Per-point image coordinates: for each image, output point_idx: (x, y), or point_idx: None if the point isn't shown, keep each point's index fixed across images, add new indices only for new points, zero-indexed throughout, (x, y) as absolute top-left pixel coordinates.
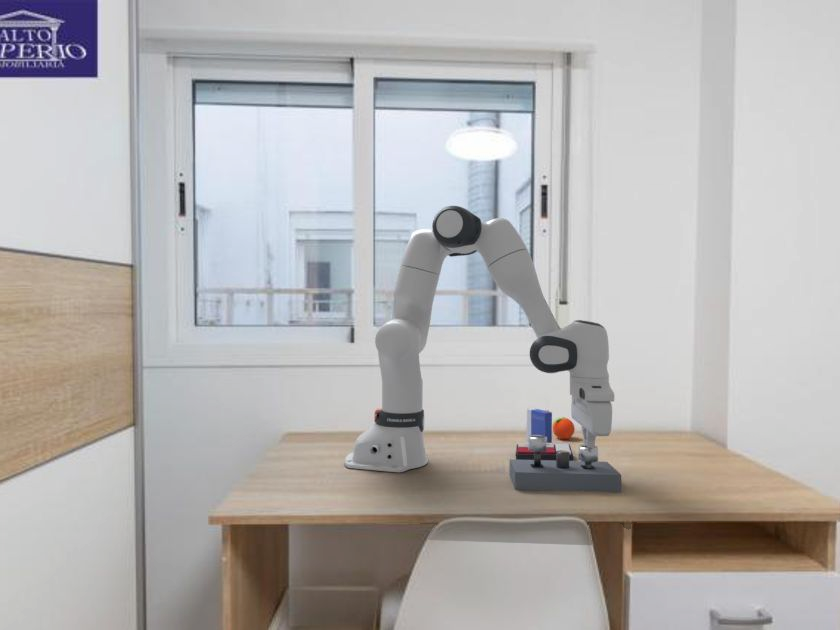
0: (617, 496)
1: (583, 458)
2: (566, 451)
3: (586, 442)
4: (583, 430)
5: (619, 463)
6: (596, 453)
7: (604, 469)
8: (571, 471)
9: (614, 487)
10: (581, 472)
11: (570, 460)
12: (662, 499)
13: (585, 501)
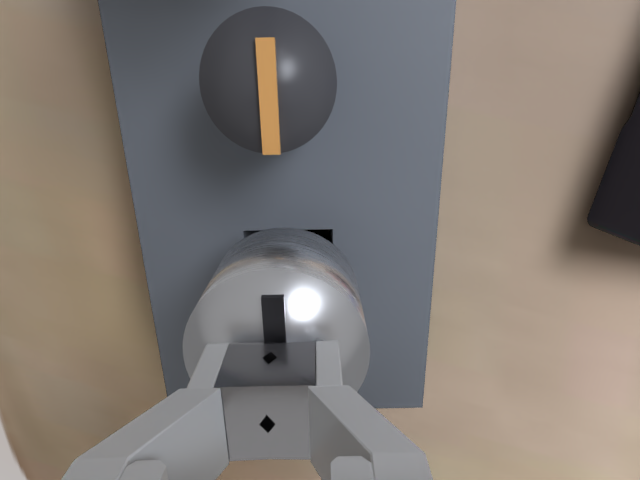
0: (141, 321)
1: (225, 257)
2: (277, 126)
3: (218, 364)
4: (366, 455)
5: (621, 458)
6: None
7: None
8: (172, 129)
9: None
10: (163, 197)
11: (621, 219)
12: None
13: (23, 152)
